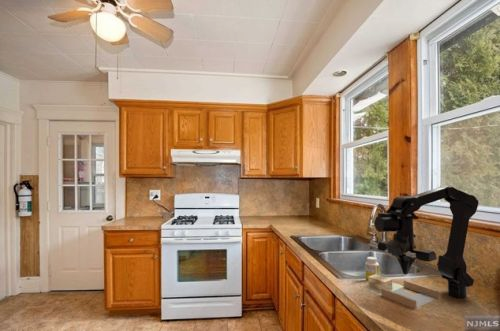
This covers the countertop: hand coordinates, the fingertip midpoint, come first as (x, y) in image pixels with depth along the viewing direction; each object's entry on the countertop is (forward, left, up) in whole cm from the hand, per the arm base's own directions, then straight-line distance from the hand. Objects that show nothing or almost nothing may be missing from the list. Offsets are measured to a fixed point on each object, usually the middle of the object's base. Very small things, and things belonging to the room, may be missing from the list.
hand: (405, 274), depth 98 cm
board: (-2, -4, -10) cm, 11 cm away
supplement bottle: (-7, -18, -10) cm, 22 cm away
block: (0, -10, -9) cm, 13 cm away
